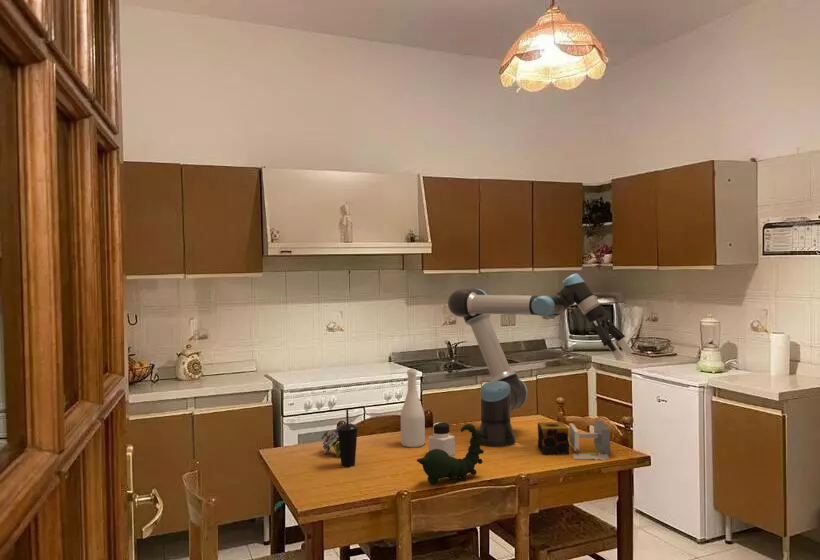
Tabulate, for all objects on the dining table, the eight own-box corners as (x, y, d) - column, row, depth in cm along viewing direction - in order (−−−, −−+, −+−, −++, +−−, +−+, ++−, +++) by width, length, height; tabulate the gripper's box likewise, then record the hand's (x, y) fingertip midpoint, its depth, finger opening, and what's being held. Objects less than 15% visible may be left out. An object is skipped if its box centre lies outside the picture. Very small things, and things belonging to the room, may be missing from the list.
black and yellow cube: (569, 455, 235) (569, 428, 235) (542, 455, 235) (542, 428, 235) (563, 447, 245) (563, 421, 245) (537, 447, 245) (537, 422, 245)
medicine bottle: (455, 455, 237) (454, 423, 237) (442, 459, 232) (442, 426, 232) (440, 451, 242) (440, 420, 242) (428, 455, 237) (427, 423, 237)
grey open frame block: (574, 459, 229) (573, 432, 229) (566, 446, 246) (566, 420, 246) (612, 460, 228) (612, 432, 228) (602, 446, 245) (601, 420, 245)
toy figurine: (470, 475, 218) (407, 482, 206) (473, 420, 219) (411, 423, 206) (487, 483, 210) (422, 490, 198) (490, 426, 211) (426, 429, 198)
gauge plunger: (576, 453, 230) (576, 434, 230) (569, 441, 246) (569, 423, 246) (608, 453, 229) (608, 434, 229) (599, 441, 245) (599, 423, 245)
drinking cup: (342, 469, 222) (341, 412, 221) (334, 463, 229) (333, 408, 228) (362, 466, 225) (361, 410, 225) (353, 460, 232) (353, 406, 232)
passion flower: (326, 468, 241) (317, 439, 247) (353, 459, 245) (343, 430, 251) (329, 458, 232) (319, 428, 238) (357, 449, 236) (347, 420, 241)
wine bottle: (429, 445, 251) (428, 369, 250) (409, 449, 245) (408, 372, 245) (416, 440, 259) (414, 366, 258) (396, 444, 253) (395, 369, 253)
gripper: (589, 305, 232) (624, 354, 226) (609, 302, 253) (642, 347, 246) (573, 317, 236) (607, 365, 229) (594, 313, 256) (626, 357, 250)
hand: (625, 356), depth 238 cm, fingers open, 13 cm apart
